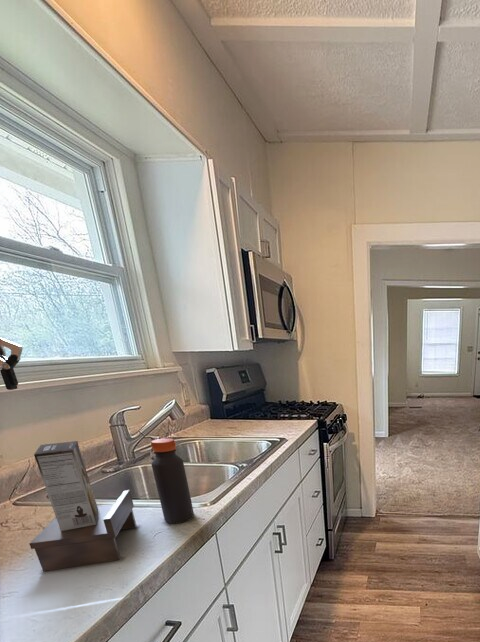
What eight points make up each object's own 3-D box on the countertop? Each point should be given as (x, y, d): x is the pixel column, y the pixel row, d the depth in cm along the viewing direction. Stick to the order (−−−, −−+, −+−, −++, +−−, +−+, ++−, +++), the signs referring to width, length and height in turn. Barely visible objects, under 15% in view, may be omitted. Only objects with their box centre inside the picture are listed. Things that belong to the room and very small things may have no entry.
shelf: (40, 571, 78) (23, 529, 74) (71, 534, 94) (58, 497, 90) (122, 559, 82) (110, 518, 79) (139, 525, 98) (129, 489, 94)
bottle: (181, 511, 106) (165, 436, 98) (200, 515, 103) (185, 438, 95) (158, 521, 100) (139, 442, 92) (177, 526, 97) (159, 445, 90)
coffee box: (64, 516, 87) (39, 444, 81) (99, 510, 90) (78, 440, 84) (60, 532, 80) (32, 453, 74) (98, 525, 83) (75, 449, 77)
